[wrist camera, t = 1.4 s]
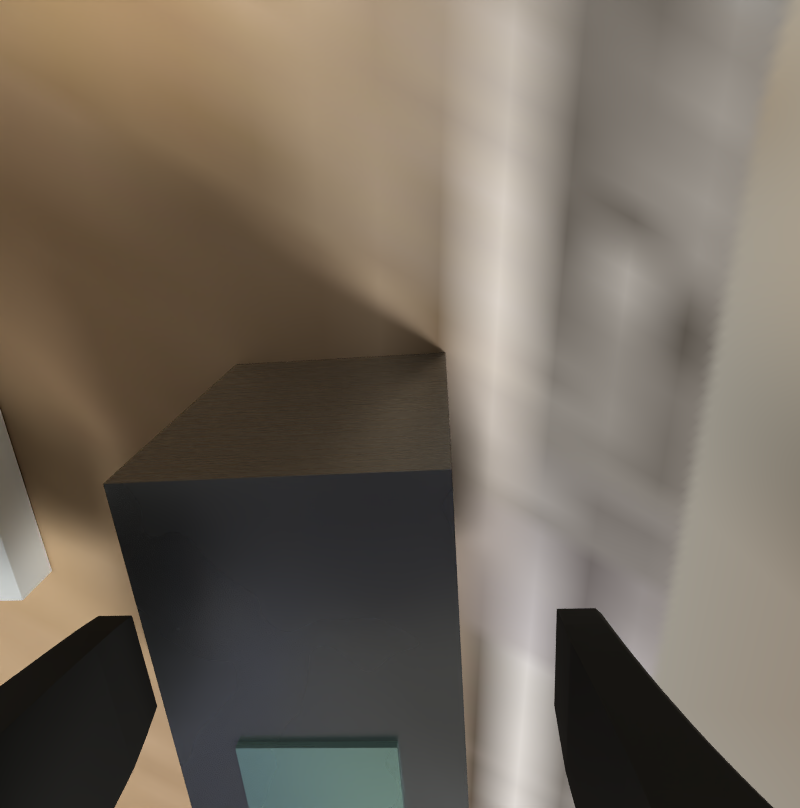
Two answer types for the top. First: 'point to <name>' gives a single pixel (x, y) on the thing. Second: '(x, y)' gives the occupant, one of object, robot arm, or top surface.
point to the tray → (17, 530)
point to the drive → (304, 585)
